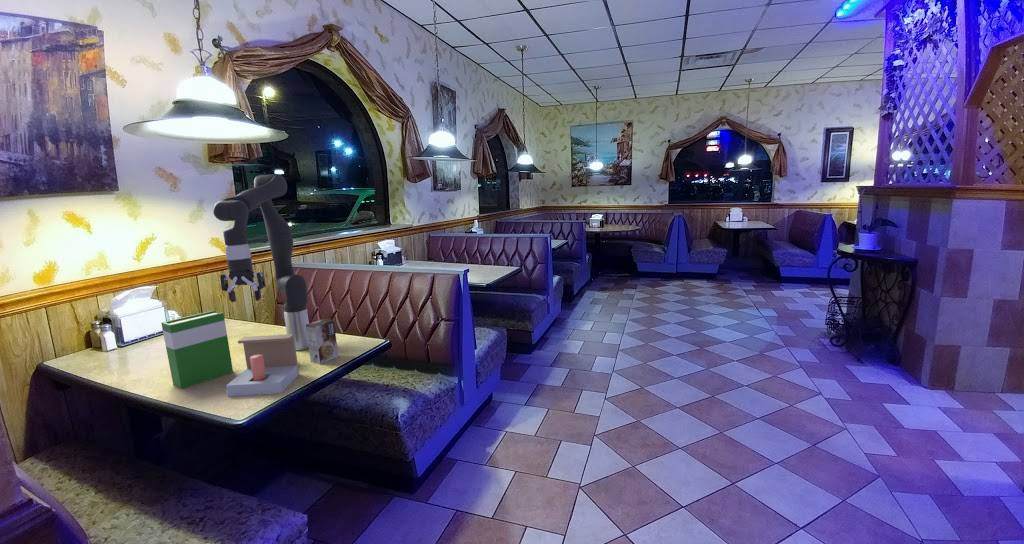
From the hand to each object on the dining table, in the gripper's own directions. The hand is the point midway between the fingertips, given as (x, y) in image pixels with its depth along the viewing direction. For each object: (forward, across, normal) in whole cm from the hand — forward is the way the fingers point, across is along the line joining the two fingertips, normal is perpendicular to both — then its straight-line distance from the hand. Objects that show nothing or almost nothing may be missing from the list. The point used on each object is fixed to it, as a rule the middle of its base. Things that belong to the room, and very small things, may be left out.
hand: (246, 301), depth 168 cm
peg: (+30, +6, -10) cm, 32 cm away
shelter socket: (+30, +6, -7) cm, 31 cm away
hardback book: (+30, -21, +3) cm, 37 cm away
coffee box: (+30, +20, +15) cm, 39 cm away
